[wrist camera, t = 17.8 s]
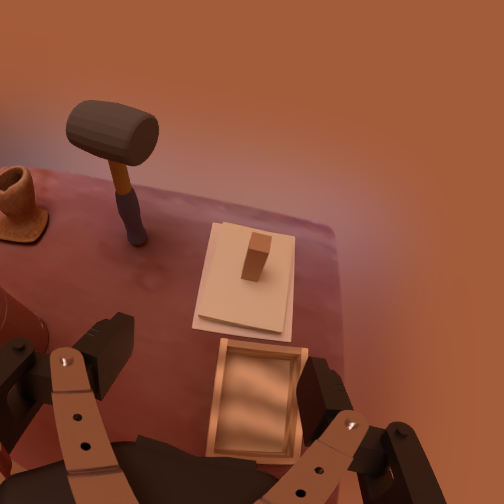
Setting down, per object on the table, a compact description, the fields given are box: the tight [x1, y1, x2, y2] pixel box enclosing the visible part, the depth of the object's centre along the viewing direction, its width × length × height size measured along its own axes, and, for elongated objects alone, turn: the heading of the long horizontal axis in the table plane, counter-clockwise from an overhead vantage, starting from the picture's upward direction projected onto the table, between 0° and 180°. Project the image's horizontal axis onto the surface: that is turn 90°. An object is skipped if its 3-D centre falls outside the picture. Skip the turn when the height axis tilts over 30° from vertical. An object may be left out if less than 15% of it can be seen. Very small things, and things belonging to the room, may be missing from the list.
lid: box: [198, 222, 294, 334], centre depth 47 cm, size 19×14×12 cm
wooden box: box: [205, 338, 308, 464], centre depth 38 cm, size 18×13×7 cm
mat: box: [192, 223, 295, 342], centre depth 53 cm, size 22×17×1 cm
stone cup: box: [0, 166, 48, 242], centre depth 44 cm, size 15×12×15 cm
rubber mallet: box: [66, 100, 159, 245], centre depth 40 cm, size 12×8×30 cm, turn 67°
